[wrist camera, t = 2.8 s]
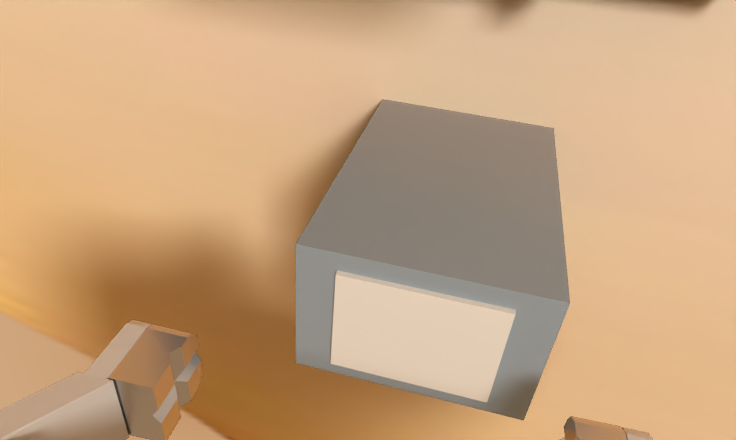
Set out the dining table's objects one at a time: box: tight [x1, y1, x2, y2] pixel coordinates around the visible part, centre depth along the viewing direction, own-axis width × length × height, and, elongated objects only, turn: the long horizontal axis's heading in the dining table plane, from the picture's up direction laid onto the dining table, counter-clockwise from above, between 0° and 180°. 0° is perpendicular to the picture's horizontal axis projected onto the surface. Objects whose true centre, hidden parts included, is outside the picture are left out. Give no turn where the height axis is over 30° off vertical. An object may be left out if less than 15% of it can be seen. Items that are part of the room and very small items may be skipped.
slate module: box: [296, 99, 570, 420], centre depth 16 cm, size 6×4×9 cm, turn 86°
